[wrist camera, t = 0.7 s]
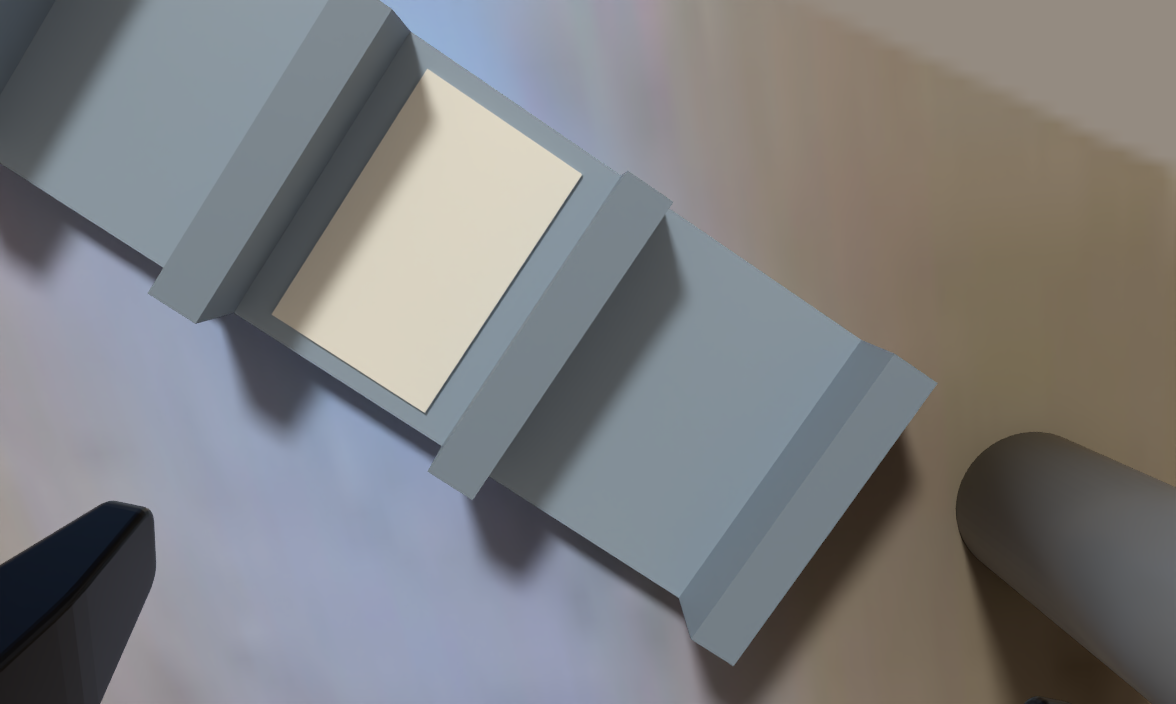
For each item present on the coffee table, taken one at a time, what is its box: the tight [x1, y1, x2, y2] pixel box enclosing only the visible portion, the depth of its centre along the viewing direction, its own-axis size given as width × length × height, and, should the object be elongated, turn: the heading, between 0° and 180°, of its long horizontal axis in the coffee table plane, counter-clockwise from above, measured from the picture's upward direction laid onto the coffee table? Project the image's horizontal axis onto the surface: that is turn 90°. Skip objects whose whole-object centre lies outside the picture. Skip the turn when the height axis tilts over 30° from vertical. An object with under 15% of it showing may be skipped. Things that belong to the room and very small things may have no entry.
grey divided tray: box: [0, 0, 937, 666], centre depth 23 cm, size 8×23×4 cm, turn 56°
